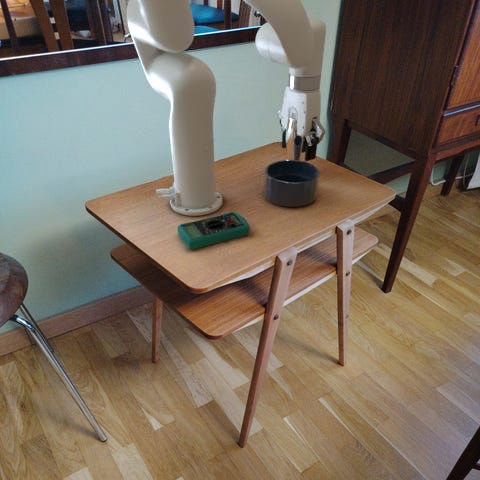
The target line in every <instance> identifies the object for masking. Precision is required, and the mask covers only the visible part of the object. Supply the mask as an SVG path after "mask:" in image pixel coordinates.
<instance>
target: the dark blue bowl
mask: <svg viewBox="0 0 480 480" xmlns="http://www.w3.org/2000/svg"><path fill="white" fill-rule="evenodd" d="M319 181H320V170H319V168H318V166H316V165H314V164H313V163H310V162H308V161H307V162H303V161H298V160H287V159H283V160H278V161H277V160H276V161H274V162H272V163H270V164H268V165H267V166H266V167H265V169H264V181H263V182H264V183H263V184H264V185H263V196H264V197H265V199H266V200H267V201H268V202H270V203H273V204H275V205H278V206H282V207H290V208H291V207H292V208H295V207H304V206H307V205H310V204H311V203H313V202H314V201H315V200H316V198H317V195H318V189H319Z"/></svg>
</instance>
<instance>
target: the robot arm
mask: <svg viewBox="0 0 480 480" xmlns="http://www.w3.org/2000/svg"><path fill="white" fill-rule="evenodd" d="M242 1H243V2H244V3H245V4H247V5H248V6H249V7H251V8H252V9H253V10H255V11H256V12H257V13H258V14H260V15H261V16H262V17H263V19H264V20H265V21H266V22H265V23H264V24H262V25H261V26H260V28H259V29H258V30H257V31H256V32H257V33H256V35H255V48H256V51H257V52H258V53H259V55H260V56H261V57H262V58H264V59H265V60H267V61H270V62H273V63H276V64H278V65H282V66H285V67H286V68H289V69H288V83H287V85H286V87H285V90H284V95H283V101H282V108H281V109H280V110H278V112H277V113H278V117H279V124H280V127H281V128H280V130H281V131H280V132H281V134H282V135H281V149H286V126H287V120H288V116H289V117H290V118H292V119H295V120H297V134H298V135H299V136H302V137H304V136H305V137H306V140H307V143H308V145H306V151H305V160H306V161H307V162H309V161H313V160H315V159H316V158H317V150H318V145H319V144H320V143H321V141H322V140H323V138H324V136H325V135H326V128H325V127H324V126H323V124H322V123H321V108H322V107H321V106H322V101H321V100H322V99H321V98H322V97H321V95H322V94H321V90H320V89H321V80H322V70H323V63H324V62H323V61H324V54H325V44H326V35H327V26H326V23H325V22H324V21H323V20H322V19H320V18H319V19H318V18H309V16H308V14H307V11H306V8H305V7H304V5H303V2H302V1H301V0H242ZM193 16H194V15H193V11H192V9H191V5H190V2H189V0H128V2H127V6H126V22H127V26H128V30H129V34H130V36H131V40H132V43H133V45H134V48H135V50H136V53H137V56H138V58H139V61H140V64H141V66H142V69H143V72H144V75H145V76H146V77H145V78H146V79H147V81H148V84H149V85H150V86H151V88H152V90H153V91H154V92H156V93H157V94H158V95H160V96H161V97H163V98H165V99H166V100H168V101H169V102H170V113H169V119H168V132H169V140H170V152H171V160H172V161H171V162H172V171H173V180H174V182H172V186H169V188H156V189H155V193H156V198H162V199H161V201H162V202H168V201H169V204H170V208H171V209H172V210H173V211H174V212H176V213H178V214H180V215H184V216H190V217H191V216H192V217H198V216H205V215H209V214H212V213H214V212H216V211H218V210H219V209H220V208H221V207H222V206H223V197H222V195H221V194H220V193H219V192H218V191H216V171H215V170H216V169H215V142H214V141H215V140H214V139H215V138H214V112H215V111H214V110H215V103H216V96H217V95H216V94H217V82H216V78H215V75H214V73H213V70H212V69H211V68H210V67H209V65H208V64H207V63H206V62H205V61H203V59H200V58H198V57H196V56H194V55H193V54H190V53H187V52H185V51H186V50H187V49H188V48H189V47H190V46H191V45H192V43H193V41H194V38H195V30H196V29H195V28H196V27H195V20H194V17H193ZM311 129H312V131H311V132H310V130H311ZM310 135H313V139H311V136H310Z"/></svg>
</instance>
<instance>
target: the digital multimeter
mask: <svg viewBox="0 0 480 480" xmlns="http://www.w3.org/2000/svg"><path fill="white" fill-rule="evenodd" d="M177 234H178V236H179V238H180V240H181V241H182V243H183V244H184V245H185V246H186V247H187V248H188V249H189V250H191V251H192V250H195V249H200V248H203V247H207V246H210V245H211V246H212V245H214V244H218V243H222V242H226V241H230V240H233V239H237V238H241V237H245V236H248V235H250V225H249V222H248V221H247V219H245V217H244V216H242V215H241V214H239V213H237V212H236V211H231V212H227V213H223V214H220V215H215V216H211V217H207V218H203V219H199V220H195V221H190V222H185V223H181V224H179V225H177Z"/></svg>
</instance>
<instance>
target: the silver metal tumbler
mask: <svg viewBox="0 0 480 480" xmlns="http://www.w3.org/2000/svg"><path fill="white" fill-rule="evenodd" d="M311 131H312V129H311V130H310V132H311ZM310 136H311V139H313V135H310ZM306 145H308V143H307V140H306V137H305V136H304V137H302V136H299V135H298V134H297V120H295V119H292V118H290V117H289V116H288V120H287V126H286V148H285V150H286V160H298V161H303V162H307V163H308V161H306V160H305V151H306Z"/></svg>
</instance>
